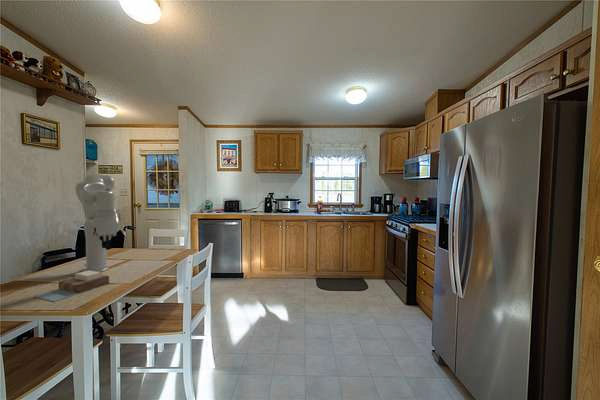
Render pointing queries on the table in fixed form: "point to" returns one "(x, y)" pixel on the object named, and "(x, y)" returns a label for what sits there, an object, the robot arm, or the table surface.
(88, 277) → the white rectangular block
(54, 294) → the mat
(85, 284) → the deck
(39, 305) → the table surface
